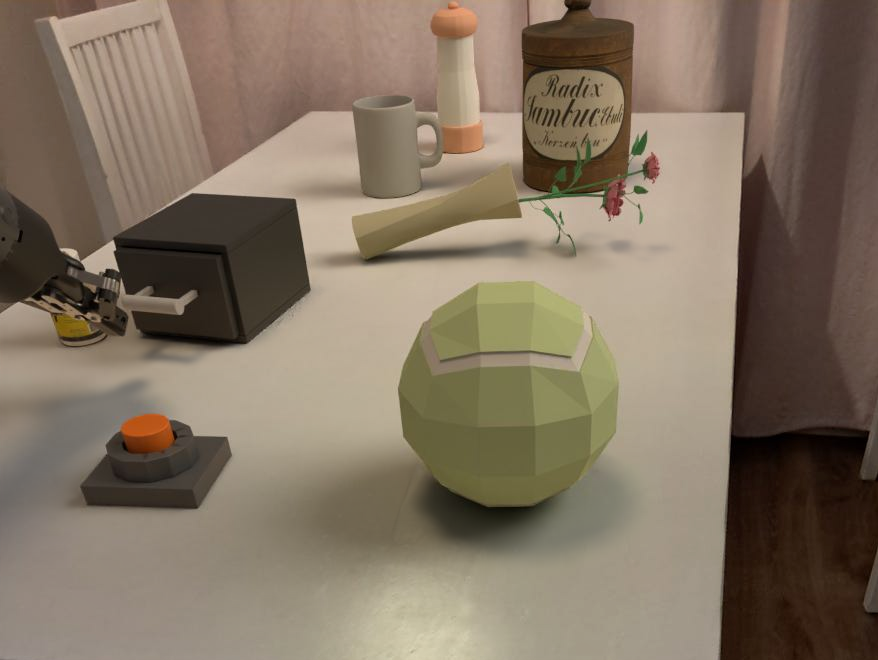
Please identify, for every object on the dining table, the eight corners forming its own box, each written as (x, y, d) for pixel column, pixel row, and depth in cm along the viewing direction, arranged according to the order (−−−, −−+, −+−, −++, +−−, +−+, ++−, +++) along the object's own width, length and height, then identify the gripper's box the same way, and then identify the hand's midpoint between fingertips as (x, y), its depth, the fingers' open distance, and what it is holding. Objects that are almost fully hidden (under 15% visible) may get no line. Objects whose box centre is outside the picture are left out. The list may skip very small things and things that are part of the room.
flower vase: (388, 309, 117) (661, 229, 112) (374, 317, 106) (676, 229, 101) (358, 210, 112) (641, 122, 107) (340, 208, 101) (655, 110, 96)
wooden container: (515, 193, 126) (512, 0, 112) (530, 164, 137) (529, -16, 123) (624, 194, 124) (635, -4, 110) (630, 164, 135) (641, -20, 120)
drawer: (212, 357, 88) (191, 275, 83) (112, 346, 91) (86, 266, 86) (295, 289, 101) (282, 213, 96) (204, 281, 104) (187, 208, 99)
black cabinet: (247, 343, 93) (225, 245, 86) (140, 332, 96) (112, 237, 90) (311, 289, 103) (295, 198, 97) (212, 281, 106) (191, 192, 100)
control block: (86, 505, 71) (71, 465, 69) (129, 452, 77) (116, 414, 75) (198, 508, 70) (186, 468, 68) (232, 454, 76) (222, 416, 74)
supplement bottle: (59, 333, 97) (30, 251, 91) (106, 325, 98) (79, 243, 92) (61, 350, 93) (30, 266, 88) (109, 342, 94) (82, 258, 89)
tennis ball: (603, 437, 75) (613, 248, 65) (617, 545, 64) (631, 336, 54) (421, 441, 76) (403, 255, 66) (403, 548, 65) (378, 343, 55)
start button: (119, 456, 70) (112, 435, 69) (138, 433, 73) (131, 412, 72) (164, 457, 70) (158, 436, 69) (181, 434, 73) (175, 413, 71)
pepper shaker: (428, 148, 147) (417, 3, 134) (462, 139, 150) (455, -4, 138) (458, 155, 142) (450, 7, 130) (492, 146, 146) (488, 0, 133)
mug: (359, 199, 128) (348, 110, 120) (364, 182, 134) (354, 96, 127) (445, 195, 127) (439, 105, 120) (447, 178, 134) (441, 91, 126)
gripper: (-112, 272, 68) (51, 359, 85) (35, 284, 65) (175, 372, 82) (-91, 174, 69) (68, 280, 85) (56, 182, 65) (191, 291, 82)
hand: (120, 325), depth 84 cm, fingers closed
